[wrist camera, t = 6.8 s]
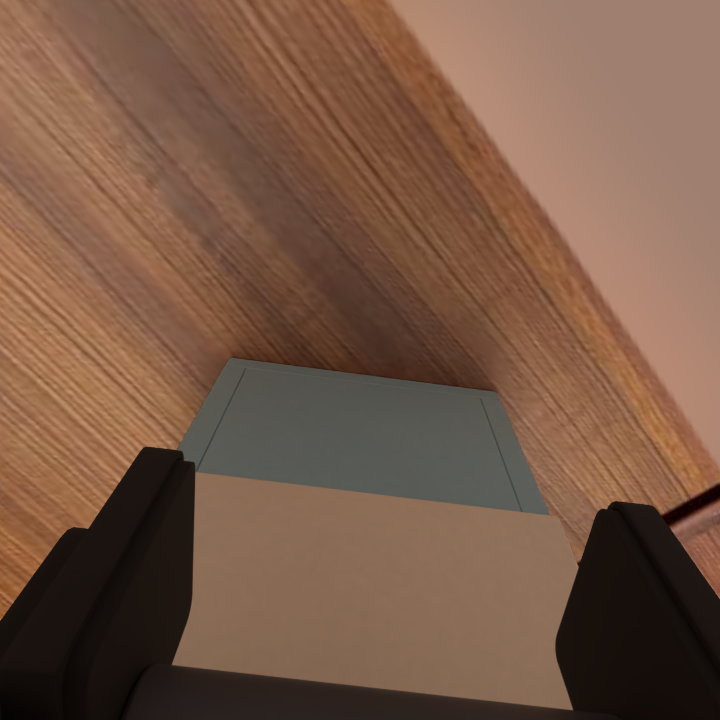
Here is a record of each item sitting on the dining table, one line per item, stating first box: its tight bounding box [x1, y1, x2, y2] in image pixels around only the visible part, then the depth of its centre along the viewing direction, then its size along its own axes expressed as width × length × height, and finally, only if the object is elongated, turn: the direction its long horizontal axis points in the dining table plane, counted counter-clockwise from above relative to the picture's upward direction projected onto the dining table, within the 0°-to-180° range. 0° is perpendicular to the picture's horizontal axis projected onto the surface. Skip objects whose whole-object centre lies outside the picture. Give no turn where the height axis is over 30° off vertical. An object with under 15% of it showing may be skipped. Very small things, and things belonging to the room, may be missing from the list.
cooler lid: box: [120, 472, 622, 720], centre depth 11 cm, size 13×12×5 cm
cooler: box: [177, 358, 550, 515], centre depth 25 cm, size 12×12×9 cm
